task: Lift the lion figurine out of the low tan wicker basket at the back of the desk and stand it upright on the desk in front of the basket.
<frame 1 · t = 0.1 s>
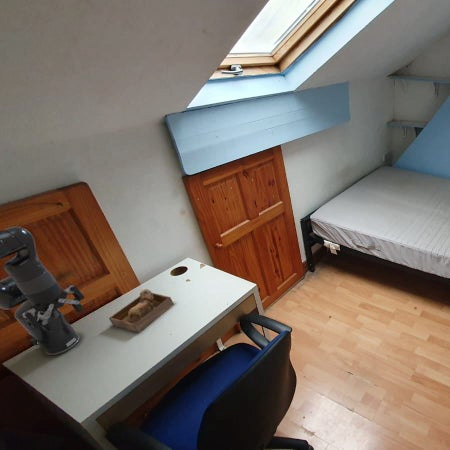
hand: (66, 320, 105), 17 cm above the table, tool pointing down, fingers open, 8 cm apart
lion figurine: (144, 314, 130), resting on basket
basket: (144, 314, 130), on the table
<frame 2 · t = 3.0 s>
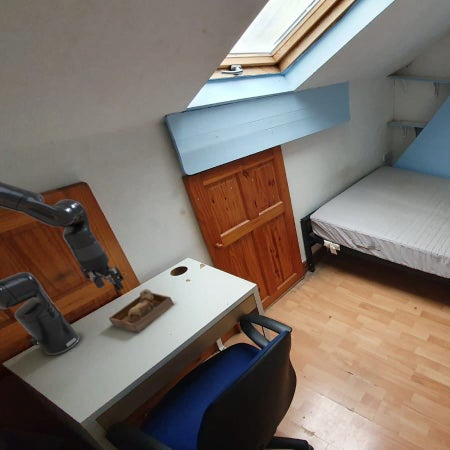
hand: (111, 288, 116), 19 cm above the table, tool pointing down, fingers open, 8 cm apart
nothing on the table moved.
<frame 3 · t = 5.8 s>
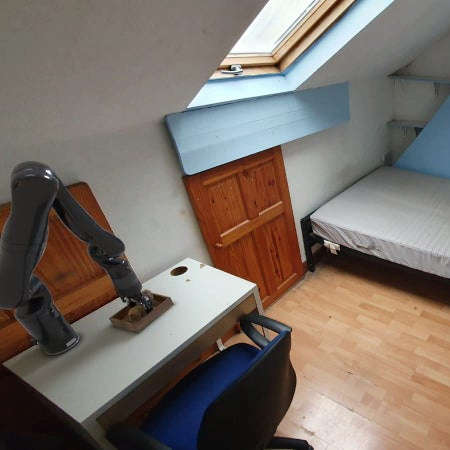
hand: (143, 311, 129), 2 cm above the table, tool pointing down, fingers open, 7 cm apart
nothing on the table moved.
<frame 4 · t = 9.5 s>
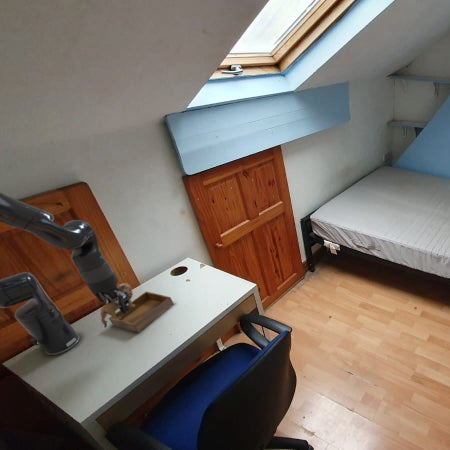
hand: (120, 310, 113), 15 cm above the table, tool pointing down, fingers closed on lion figurine, 4 cm apart
lion figurine: (121, 312, 113), point 14 cm above the table, touching gripper
when the fingers open (1 cm above the table, at t = 12.9 s): lion figurine stays where it is, on the table.
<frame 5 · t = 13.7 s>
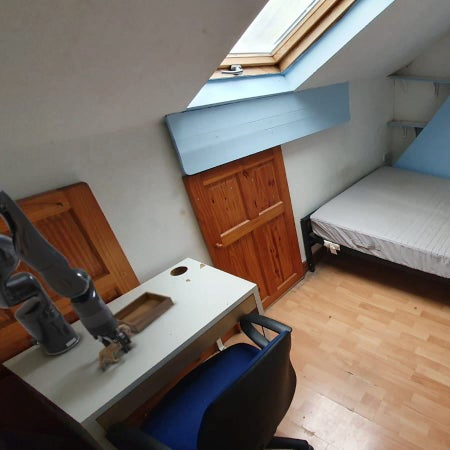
hand: (118, 348, 113), 2 cm above the table, tool pointing down, fingers open, 8 cm apart
lion figurine: (120, 353, 114), on the table
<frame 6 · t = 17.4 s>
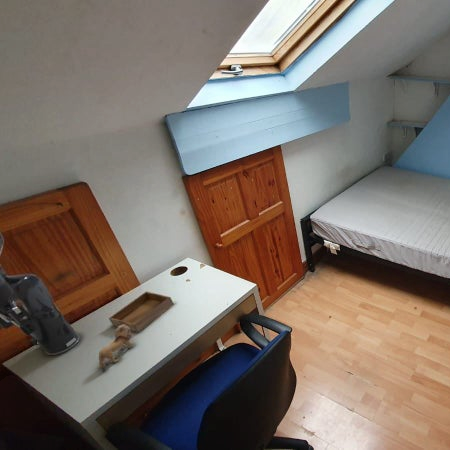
hand: (20, 329, 86), 30 cm above the table, tool pointing down, fingers open, 8 cm apart
nothing on the table moved.
at the end: lion figurine inside the target area (0.3 cm from its centre), on the table; lion figurine tilted 0°; lion figurine touching table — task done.
